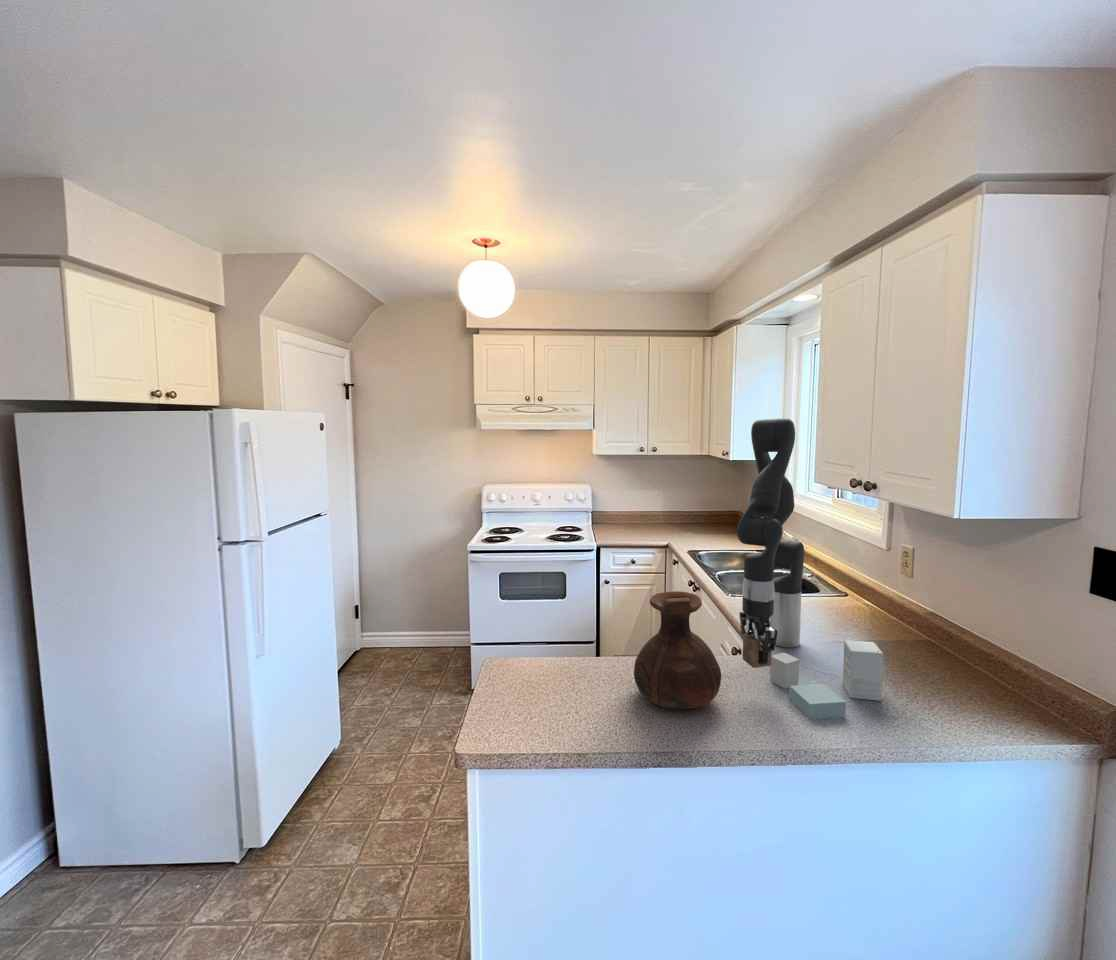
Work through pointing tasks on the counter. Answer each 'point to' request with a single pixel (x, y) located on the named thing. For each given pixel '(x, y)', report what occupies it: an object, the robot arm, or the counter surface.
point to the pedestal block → (817, 701)
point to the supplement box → (862, 670)
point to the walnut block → (753, 651)
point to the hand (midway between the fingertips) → (756, 658)
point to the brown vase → (677, 657)
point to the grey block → (784, 670)
